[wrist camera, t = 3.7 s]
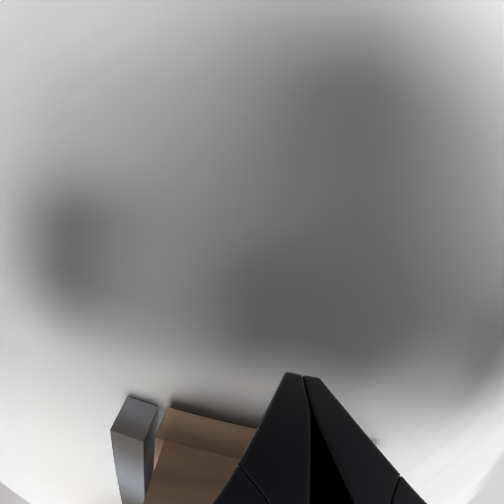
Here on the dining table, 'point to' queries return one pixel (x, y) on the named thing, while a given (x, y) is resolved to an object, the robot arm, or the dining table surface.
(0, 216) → the dining table surface
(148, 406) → the tunnel track
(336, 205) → the dining table surface
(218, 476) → the sled
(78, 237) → the dining table surface
